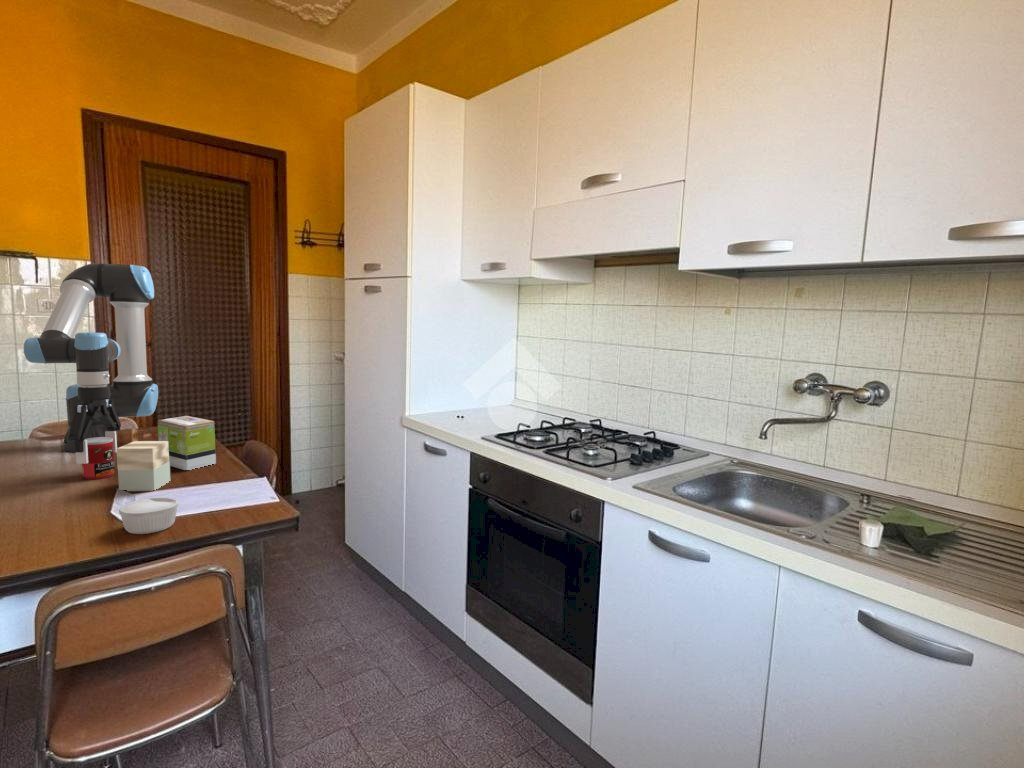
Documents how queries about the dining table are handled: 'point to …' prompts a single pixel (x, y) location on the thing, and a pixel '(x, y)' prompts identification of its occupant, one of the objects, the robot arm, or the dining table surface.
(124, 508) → the ramekin
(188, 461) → the tea box
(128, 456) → the top block
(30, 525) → the dining table surface
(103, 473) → the canned food
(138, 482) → the lower block
